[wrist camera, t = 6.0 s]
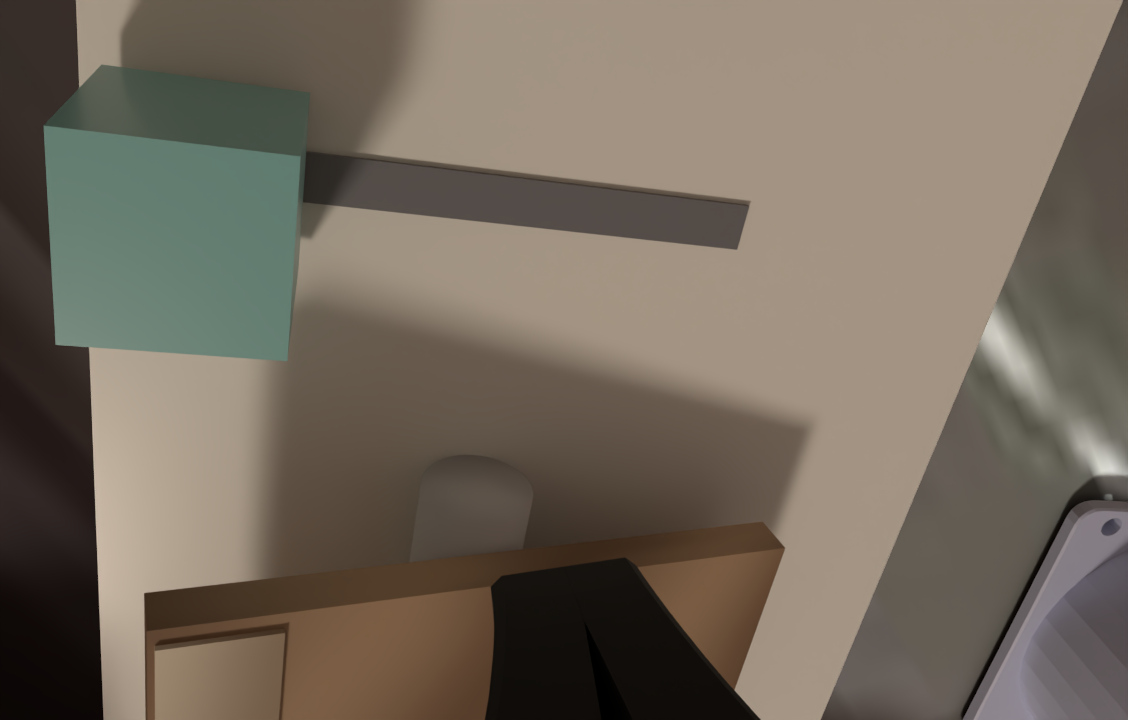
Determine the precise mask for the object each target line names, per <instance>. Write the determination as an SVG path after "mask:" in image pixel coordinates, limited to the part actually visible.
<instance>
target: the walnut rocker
mask: <svg viewBox="0 0 1128 720" xmlns="http://www.w3.org/2000/svg"><path fill="white" fill-rule="evenodd" d="M784 551H785V547H784V546H783V545H782V543H781V542H780V541H779V540H778V539H777V538H776V537H775V535H774V534H773V533H772V532H771V531H770V530H769V528H768V527H767V526H766V525H765V524H764V523H763V522H755V523H746V524H738V525H729V526H720V527H712V528H703V529H694V530H686V531H677V532H668V533H660V534H651V535H642V536H634V537H625V538H616V539H608V540H599V541H590V542H582V543H573V544H564V545H556V546H547V547H538V548H530V549H521V550H512V551H504V552H495V553H486V554H478V555H469V556H460V557H452V558H443V559H434V560H426V561H417V562H408V563H400V564H391V565H382V566H374V567H365V568H356V569H348V570H339V571H330V572H322V573H313V574H304V575H296V576H287V577H278V578H270V579H261V580H252V581H244V582H235V583H226V584H218V585H209V586H200V587H192V588H183V589H174V590H166V591H157V592H148V593H144V629H145V717H146V720H485V716H486V710H487V703H488V697H489V690H490V680H491V670H492V660H493V645H494V618H493V607H492V596H491V586H492V585H493V584H494V583H495V582H496V581H497V580H498V579H499V578H500V577H501V576H504V575H510V574H517V573H524V572H530V571H537V570H544V569H551V568H557V567H564V566H571V565H577V564H584V563H591V562H598V561H604V560H611V559H618V558H624V557H626V558H627V559H628V560H630V561H631V562H632V563H634V564H635V565H636V566H637V567H638V569H639V570H640V572H641V573H642V575H643V576H644V578H645V579H646V580H647V582H648V583H649V585H650V586H651V587H652V589H653V590H654V591H655V593H656V594H657V596H658V597H659V598H660V600H661V601H662V602H663V604H664V605H665V606H666V608H667V609H668V610H669V612H670V613H671V614H672V615H673V617H674V618H675V619H676V621H677V622H678V623H679V624H680V626H681V627H682V628H683V630H684V631H685V632H686V633H687V634H688V636H689V637H690V638H691V639H692V641H693V642H694V643H695V644H696V646H697V647H698V648H699V649H700V651H701V652H702V653H703V654H704V655H705V657H706V658H707V659H708V660H709V661H710V663H711V664H712V665H713V666H714V667H715V669H716V670H717V671H718V672H719V673H720V674H721V676H722V677H723V678H724V679H725V680H726V681H727V683H728V684H729V685H730V686H731V687H732V688H733V689H734V690H735V687H736V684H737V682H738V679H739V676H740V673H741V670H742V668H743V665H744V662H745V659H746V657H747V654H748V651H749V648H750V645H751V643H752V640H753V637H754V634H755V631H756V629H757V626H758V623H759V620H760V617H761V615H762V612H763V609H764V606H765V604H766V601H767V598H768V595H769V592H770V590H771V587H772V584H773V581H774V578H775V576H776V573H777V570H778V567H779V564H780V562H781V559H782V556H783V553H784Z"/></svg>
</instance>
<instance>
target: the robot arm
mask: <svg viewBox="0 0 1128 720" xmlns="http://www.w3.org/2000/svg"><path fill="white" fill-rule="evenodd" d="M491 596H492V607H493V618H494V645H493V660H492V670H491V680H490V690H489V697H488V703H487V710H486V716H485V720H761V719H760V718H759V717H758V716H757V715H756V714H755V713H754V712H753V710H752V709H751V708H750V707H749V706H748V705H747V704H746V703H745V702H744V700H743V699H742V698H741V697H740V696H739V695H738V694H737V693H736V691H735V690H734V689H733V688H732V687H731V686H730V685H729V684H728V683H727V681H726V680H725V679H724V678H723V677H722V676H721V674H720V673H719V672H718V671H717V670H716V669H715V667H714V666H713V665H712V664H711V663H710V661H709V660H708V659H707V658H706V657H705V655H704V654H703V653H702V652H701V651H700V649H699V648H698V647H697V646H696V644H695V643H694V642H693V641H692V639H691V638H690V637H689V636H688V634H687V633H686V632H685V631H684V630H683V628H682V627H681V626H680V624H679V623H678V622H677V621H676V619H675V618H674V617H673V615H672V614H671V613H670V612H669V610H668V609H667V608H666V606H665V605H664V604H663V602H662V601H661V600H660V598H659V597H658V596H657V594H656V593H655V591H654V590H653V589H652V587H651V586H650V585H649V583H648V582H647V580H646V579H645V578H644V576H643V575H642V573H641V572H640V570H639V569H638V567H637V566H636V565H635V564H634V563H632V562H631V561H630V560H628V559H627V558H626V557H624V558H618V559H611V560H604V561H598V562H591V563H584V564H577V565H571V566H564V567H557V568H551V569H544V570H537V571H530V572H524V573H517V574H510V575H504V576H501V577H500V578H499V579H498V580H497V581H496V582H495V583H494V584H493V585H492V586H491ZM963 720H1128V502H1123V501H1102V500H1090V501H1084V502H1082V503H1080V504H1078V505H1076V506H1075V507H1074V508H1073V509H1071V511H1070V512H1069V513H1068V515H1067V517H1066V519H1065V520H1064V522H1063V524H1062V526H1061V528H1060V530H1059V532H1058V534H1057V536H1056V538H1055V540H1054V542H1053V544H1052V546H1051V548H1050V550H1049V552H1048V554H1047V556H1046V558H1045V560H1044V562H1043V564H1042V565H1041V567H1040V569H1039V571H1038V573H1037V575H1036V577H1035V579H1034V581H1033V583H1032V585H1031V587H1030V589H1029V591H1028V593H1027V595H1026V597H1025V599H1024V601H1023V603H1022V605H1021V607H1020V608H1019V610H1018V612H1017V614H1016V616H1015V618H1014V620H1013V622H1012V624H1011V626H1010V628H1009V630H1008V632H1007V634H1006V636H1005V638H1004V640H1003V642H1002V644H1001V646H1000V648H999V650H998V652H997V653H996V655H995V657H994V659H993V661H992V663H991V665H990V667H989V669H988V671H987V673H986V675H985V677H984V679H983V681H982V683H981V685H980V687H979V689H978V691H977V693H976V695H975V696H974V698H973V700H972V702H971V704H970V706H969V708H968V710H967V712H966V714H965V716H964V718H963Z"/></svg>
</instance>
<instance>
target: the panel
mask: <svg viewBox="0 0 1128 720" xmlns="http://www.w3.org/2000/svg"><path fill="white" fill-rule="evenodd" d="M1122 1H1123V0H76V11H77V37H78V63H79V88H80V87H81V86H82V85H83V83H84V82H85V81H86V80H87V79H88V78H89V77H90V76H91V75H92V74H93V73H94V72H95V71H96V70H97V69H98V68H99V67H100V66H101V64H102V65H110V66H117V67H124V68H132V69H139V70H147V71H154V72H161V73H169V74H176V75H183V76H191V77H198V78H205V79H213V80H220V81H228V82H235V83H242V84H250V85H257V86H264V87H272V88H279V89H286V90H294V91H301V92H309V93H310V103H309V118H308V133H307V148H306V163H305V178H304V192H303V207H302V222H301V237H300V252H299V267H298V276H297V285H296V293H295V302H294V310H293V319H292V327H291V336H290V344H289V352H288V361H276V360H262V359H248V358H234V357H220V356H206V355H192V354H178V353H164V352H150V351H136V350H122V349H108V348H94V347H89V351H90V377H91V404H92V430H93V456H94V482H95V508H96V534H97V561H98V587H99V613H100V639H101V665H102V691H103V718H104V720H146V717H145V629H144V593H148V592H157V591H166V590H174V589H183V588H192V587H200V586H209V585H218V584H226V583H235V582H244V581H252V580H261V579H270V578H278V577H287V576H296V575H304V574H313V573H322V572H330V571H339V570H348V569H356V568H365V567H374V566H382V565H391V564H400V563H408V562H417V561H426V560H434V559H443V558H452V557H460V556H469V555H478V554H486V553H495V552H504V551H512V550H521V549H530V548H538V547H547V546H556V545H564V544H573V543H582V542H590V541H599V540H608V539H616V538H625V537H634V536H642V535H651V534H660V533H668V532H677V531H686V530H694V529H703V528H712V527H720V526H729V525H738V524H746V523H755V522H763V523H764V524H765V525H766V526H767V527H768V528H769V530H770V531H771V532H772V533H773V534H774V535H775V537H776V538H777V539H778V540H779V541H780V542H781V543H782V545H783V546H784V547H785V551H784V553H783V556H782V559H781V562H780V564H779V567H778V570H777V573H776V576H775V578H774V581H773V584H772V587H771V590H770V592H769V595H768V598H767V601H766V604H765V606H764V609H763V612H762V615H761V617H760V620H759V623H758V626H757V629H756V631H755V634H754V637H753V640H752V643H751V645H750V648H749V651H748V654H747V657H746V659H745V662H744V665H743V668H742V670H741V673H740V676H739V679H738V682H737V684H736V687H735V691H736V693H737V694H738V695H739V696H740V697H741V698H742V699H743V700H744V702H745V703H746V704H747V705H748V706H749V707H750V708H751V709H752V710H753V712H754V713H755V714H756V715H757V716H758V717H759V718H760V719H761V720H821V717H822V715H823V712H824V710H825V708H826V705H827V703H828V701H829V698H830V696H831V693H832V691H833V689H834V686H835V684H836V682H837V679H838V677H839V674H840V672H841V670H842V667H843V665H844V663H845V660H846V658H847V655H848V653H849V651H850V648H851V646H852V643H853V641H854V639H855V636H856V634H857V632H858V629H859V627H860V624H861V622H862V620H863V617H864V615H865V613H866V610H867V608H868V605H869V603H870V601H871V598H872V596H873V594H874V591H875V589H876V586H877V584H878V582H879V579H880V577H881V575H882V572H883V570H884V567H885V565H886V563H887V560H888V558H889V555H890V553H891V551H892V548H893V546H894V544H895V541H896V539H897V536H898V534H899V532H900V529H901V527H902V525H903V522H904V520H905V517H906V515H907V513H908V510H909V508H910V506H911V503H912V501H913V498H914V496H915V494H916V491H917V489H918V486H919V484H920V482H921V479H922V477H923V475H924V472H925V470H926V467H927V465H928V463H929V460H930V458H931V456H932V453H933V451H934V448H935V446H936V444H937V441H938V439H939V437H940V434H941V432H942V429H943V427H944V425H945V422H946V420H947V418H948V415H949V413H950V410H951V408H952V406H953V403H954V401H955V398H956V396H957V394H958V391H959V389H960V387H961V384H962V382H963V379H964V377H965V375H966V372H967V370H968V368H969V365H970V363H971V360H972V358H973V356H974V353H975V351H976V349H977V346H978V344H979V341H980V339H981V337H982V334H983V332H984V329H985V327H986V325H987V322H988V320H989V318H990V315H991V313H992V310H993V308H994V306H995V303H996V301H997V299H998V296H999V294H1000V291H1001V289H1002V287H1003V284H1004V282H1005V280H1006V277H1007V275H1008V272H1009V270H1010V268H1011V265H1012V263H1013V261H1014V258H1015V256H1016V253H1017V251H1018V249H1019V246H1020V244H1021V241H1022V239H1023V237H1024V234H1025V232H1026V230H1027V227H1028V225H1029V222H1030V220H1031V218H1032V215H1033V213H1034V211H1035V208H1036V206H1037V203H1038V201H1039V199H1040V196H1041V194H1042V192H1043V189H1044V187H1045V184H1046V182H1047V180H1048V177H1049V175H1050V172H1051V170H1052V168H1053V165H1054V163H1055V161H1056V158H1057V156H1058V153H1059V151H1060V149H1061V146H1062V144H1063V142H1064V139H1065V137H1066V134H1067V132H1068V130H1069V127H1070V125H1071V123H1072V120H1073V118H1074V115H1075V113H1076V111H1077V108H1078V106H1079V104H1080V101H1081V99H1082V96H1083V94H1084V92H1085V89H1086V87H1087V84H1088V82H1089V80H1090V77H1091V75H1092V73H1093V70H1094V68H1095V65H1096V63H1097V61H1098V58H1099V56H1100V54H1101V51H1102V49H1103V46H1104V44H1105V42H1106V39H1107V37H1108V35H1109V32H1110V30H1111V27H1112V25H1113V23H1114V20H1115V18H1116V15H1117V13H1118V11H1119V8H1120V6H1121V4H1122Z"/></svg>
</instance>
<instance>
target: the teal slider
mask: <svg viewBox="0 0 1128 720" xmlns="http://www.w3.org/2000/svg"><path fill="white" fill-rule="evenodd" d="M309 103H310V93H309V92H301V91H294V90H286V89H279V88H272V87H264V86H257V85H250V84H242V83H235V82H228V81H220V80H213V79H205V78H198V77H191V76H183V75H176V74H169V73H161V72H154V71H147V70H139V69H132V68H124V67H117V66H110V65H102V64H101V66H100V67H99V68H98V69H97V70H96V71H95V72H94V73H93V74H92V75H91V76H90V77H89V78H88V79H87V80H86V81H85V82H84V83H83V85H82V86H81V87H80V88H79V89H78V90H77V91H76V92H75V93H74V94H73V95H72V96H71V97H70V98H69V99H68V100H67V101H66V103H65V104H64V105H63V106H62V107H61V108H60V109H59V110H58V111H57V112H56V113H55V114H54V115H53V116H52V117H51V118H50V119H49V121H48V122H47V123H46V124H45V125H44V140H45V158H46V176H47V194H48V212H49V230H50V249H51V267H52V285H53V303H54V321H55V339H56V345H66V346H80V347H94V348H108V349H122V350H136V351H150V352H164V353H178V354H192V355H206V356H220V357H234V358H248V359H262V360H276V361H288V352H289V344H290V336H291V327H292V319H293V310H294V302H295V293H296V285H297V276H298V267H299V252H300V237H301V222H302V207H303V192H304V178H305V163H306V148H307V133H308V118H309Z"/></svg>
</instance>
